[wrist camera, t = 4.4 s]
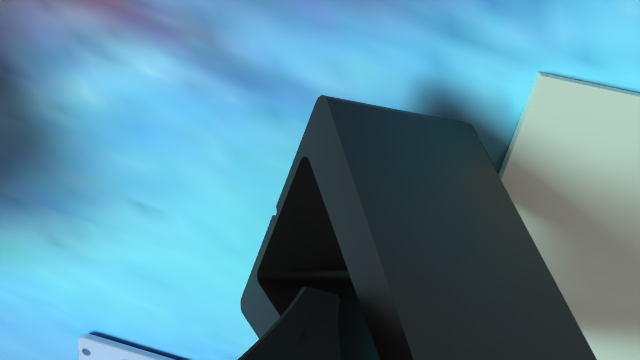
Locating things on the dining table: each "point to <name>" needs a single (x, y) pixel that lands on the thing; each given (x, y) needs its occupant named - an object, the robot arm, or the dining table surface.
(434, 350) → the phone stand
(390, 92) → the dining table surface
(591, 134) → the mat
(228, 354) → the dining table surface
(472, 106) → the dining table surface
